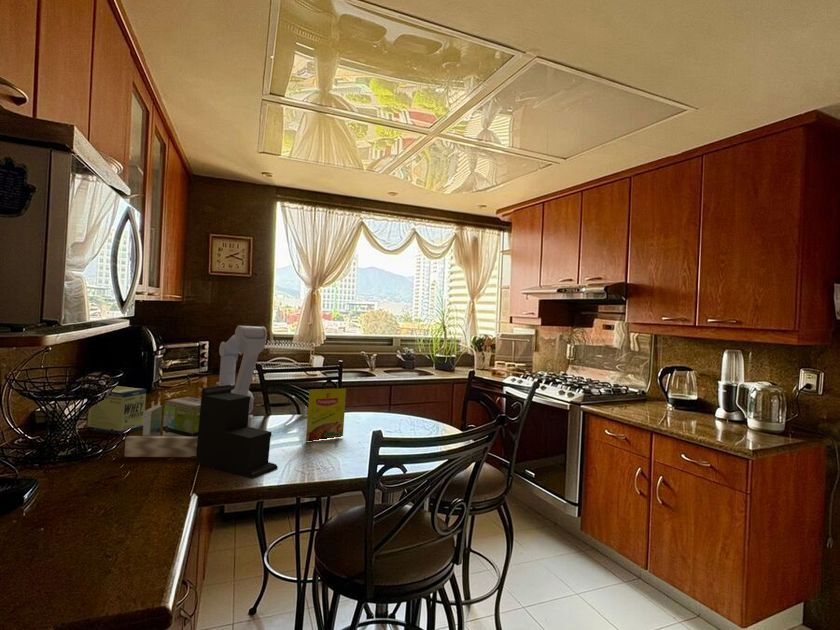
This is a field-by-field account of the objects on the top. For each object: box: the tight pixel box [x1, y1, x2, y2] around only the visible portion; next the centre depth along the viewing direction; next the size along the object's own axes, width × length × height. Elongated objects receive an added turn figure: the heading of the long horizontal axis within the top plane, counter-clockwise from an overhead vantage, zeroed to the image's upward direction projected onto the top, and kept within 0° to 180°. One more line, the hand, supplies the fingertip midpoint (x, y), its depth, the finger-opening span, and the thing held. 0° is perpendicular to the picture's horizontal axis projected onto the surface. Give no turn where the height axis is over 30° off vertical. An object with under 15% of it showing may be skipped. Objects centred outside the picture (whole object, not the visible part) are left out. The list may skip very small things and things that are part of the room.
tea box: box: [162, 396, 201, 437], centre depth 156 cm, size 15×10×15 cm
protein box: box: [86, 385, 147, 435], centre depth 165 cm, size 10×16×16 cm
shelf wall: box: [124, 435, 198, 458], centre depth 140 cm, size 26×2×6 cm, turn 101°
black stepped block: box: [195, 385, 278, 479], centre depth 134 cm, size 23×11×24 cm, turn 66°
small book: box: [142, 405, 163, 436], centre depth 144 cm, size 2×9×14 cm, turn 11°
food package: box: [305, 388, 347, 442], centre depth 169 cm, size 15×1×20 cm, turn 126°
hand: (225, 405), depth 176 cm, fingers closed
